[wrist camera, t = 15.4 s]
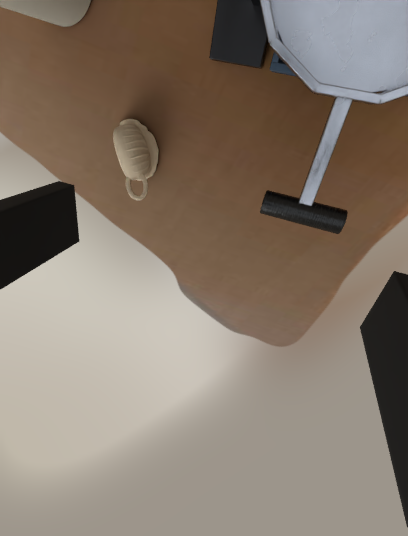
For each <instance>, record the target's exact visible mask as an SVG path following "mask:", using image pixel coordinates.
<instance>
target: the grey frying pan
mask: <svg viewBox="0 0 408 536" xmlns="http://www.w3.org/2000/svg"><path fill="white" fill-rule="evenodd" d="M260 4H261V8H262V13H263V18H264V23H265V27H266V32H267V37H268V42H269V44H270V46H271V48H272V49H273V51H274V52H275V53H276V55H277V56H278V57H279V58H280V59H281V60H282V61H283V62H284V63H285V64H286V65H287V66H288V67H289V69H290V70H291V71H292V72H293V73H294V74H295V75H296V76H297V77H298V78H299V79H300V80H301V81H302V83H303V84H304V85H305V86H306V87H307V88H308V89H309V90H310V91H311V92H312V93H313V92H314V94H317V95H322V96H328V97H333V98H334V101H333V104H332V107H331V110H330V112H329V115H328V118H327V121H326V124H325V127H324V129H323V132H322V135H321V138H320V141H319V144H318V146H317V149H316V152H315V155H314V158H313V161H312V163H311V166H310V169H309V172H308V175H307V178H306V180H305V183H304V186H303V189H302V192H301V195H300V197H299V198H296V197H292V196H288V195H284V194H280V193H276V192H272V191H269V190H267V191H266V194H265V197H264V200H263V203H262V207H261V210H260V213H261V214H265V215H269V216H273V217H276V218H280V219H284V220H287V221H291V222H295V223H299V224H302V225H306V226H310V227H314V228H317V229H321V230H325V231H328V232H332V233H336V234H339V233H340V232H341V230H342V229H343V227H344V224H345V222H346V219H347V210H344V209H340V208H336V207H332V206H328V205H324V204H320V203H316V202H314V200H315V197H316V195H317V192H318V190H319V187H320V184H321V182H322V179H323V177H324V174H325V171H326V169H327V166H328V163H329V161H330V158H331V156H332V153H333V150H334V148H335V145H336V143H337V140H338V137H339V135H340V132H341V130H342V127H343V124H344V122H345V119H346V117H347V114H348V111H349V109H350V106H351V103H352V101H354V102H359V103H365V104H383V103H386V102H389V101H391V100H394V99H397V98H400V97H403V96H406V95H408V0H260ZM279 36H280V39H281V41H282V42H281V41H280V39H279ZM383 91H384V92H383ZM377 92H381V93H377Z"/></svg>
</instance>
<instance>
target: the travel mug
mask: <svg viewBox="0 0 408 536" xmlns="http://www.w3.org/2000/svg"><path fill="white" fill-rule="evenodd" d="M90 1H91V0H0V7H3V8H6V9H9V10H12V11H15V12H19V13H22V14H25V15H28V16H31V17H34V18H37V19H40V20H43V21H46V22H49V23H52V24H55V25H59V26H63V27H67V26H72V25H74V24H76V23H78V22H79V21H80V20H81V19H82V18H83V16H84V15H85V13H86V12H87V10H88V7H89V5H90Z"/></svg>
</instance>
